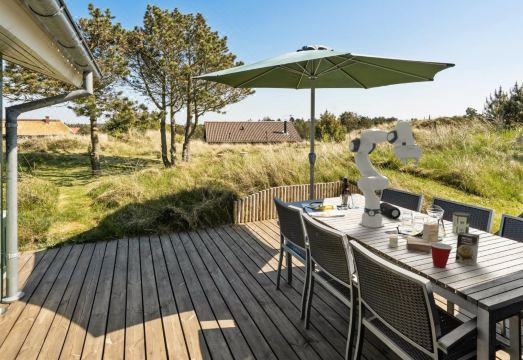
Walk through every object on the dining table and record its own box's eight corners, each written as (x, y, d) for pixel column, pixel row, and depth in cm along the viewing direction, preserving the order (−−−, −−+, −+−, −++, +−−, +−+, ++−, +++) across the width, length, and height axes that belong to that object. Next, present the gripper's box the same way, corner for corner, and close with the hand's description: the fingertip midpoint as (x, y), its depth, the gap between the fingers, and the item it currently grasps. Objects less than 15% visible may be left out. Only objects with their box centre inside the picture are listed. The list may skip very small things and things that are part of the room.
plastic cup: (453, 265, 162) (454, 244, 160) (449, 272, 154) (450, 249, 152) (430, 260, 169) (432, 239, 167) (425, 266, 161) (427, 244, 159)
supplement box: (427, 244, 193) (429, 225, 191) (421, 242, 198) (423, 223, 196) (438, 243, 195) (439, 224, 193) (432, 241, 200) (433, 222, 198)
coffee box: (454, 261, 167) (457, 233, 165) (457, 258, 171) (460, 231, 169) (474, 266, 160) (477, 237, 158) (477, 262, 165) (479, 234, 163)
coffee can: (462, 230, 222) (463, 211, 220) (472, 234, 211) (473, 215, 209) (448, 230, 221) (449, 212, 220) (457, 235, 211) (459, 215, 209)
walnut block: (406, 244, 195) (407, 237, 194) (427, 247, 190) (428, 239, 189) (407, 251, 184) (407, 243, 183) (429, 253, 179) (430, 245, 178)
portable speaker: (377, 212, 278) (377, 201, 277) (387, 212, 278) (388, 201, 277) (389, 219, 253) (390, 208, 251) (401, 219, 253) (402, 207, 252)
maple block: (389, 243, 196) (389, 234, 195) (397, 244, 194) (397, 235, 193) (388, 246, 191) (389, 237, 190) (397, 247, 189) (398, 238, 188)
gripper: (415, 146, 202) (419, 165, 200) (391, 146, 195) (395, 166, 193) (423, 143, 196) (427, 163, 194) (398, 143, 189) (402, 164, 187)
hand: (411, 165), depth 193 cm, fingers open, 8 cm apart
